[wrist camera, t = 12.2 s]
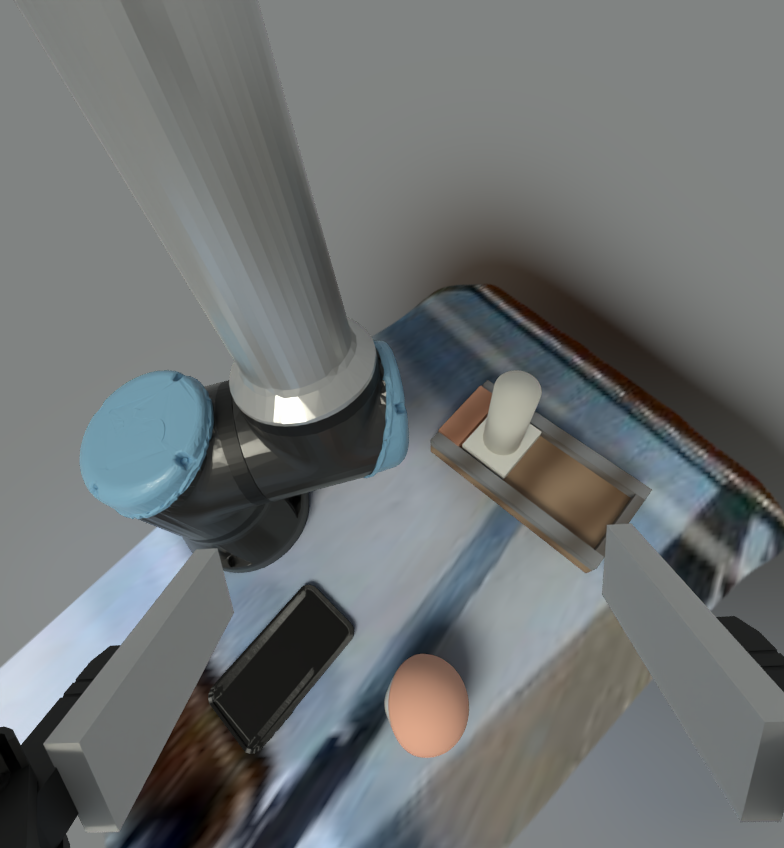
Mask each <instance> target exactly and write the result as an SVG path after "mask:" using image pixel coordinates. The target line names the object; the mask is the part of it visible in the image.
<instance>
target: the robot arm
mask: <svg viewBox="0 0 784 848" xmlns="http://www.w3.org/2000/svg"><path fill="white" fill-rule="evenodd" d="M14 2H15V3H16V5H17V7H18V8H19V10H20V12H21V13H22V15H23V16H24V18H25V19H26V21H27V23H28V25H29V26H30V28H31V29H32V31H33V33H34V34H35V36H36V38H37V39H38V41H39V43H40V44H41V46H42V47H43V49H44V51H45V52H46V54H47V56H48V57H49V59H50V60H51V62H52V64H53V65H54V67H55V69H56V70H57V72H58V74H59V75H60V77H61V79H62V80H63V82H64V83H65V85H66V87H67V88H68V90H69V91H70V93H71V95H72V97H73V98H74V100H75V101H76V103H77V104H78V106H79V108H80V109H81V111H82V113H83V114H84V116H85V118H86V119H87V121H88V123H89V124H90V126H91V128H92V129H93V131H94V132H95V134H96V135H97V137H98V139H99V141H100V142H101V144H102V145H103V147H104V149H105V150H106V152H107V154H108V155H109V157H110V158H111V160H112V162H113V164H114V165H115V167H116V168H117V170H118V172H119V173H120V175H121V177H122V178H123V180H124V181H125V183H126V185H127V186H128V188H129V190H130V191H131V193H132V195H133V196H134V198H135V199H136V201H137V203H138V204H139V206H140V207H141V209H142V211H143V213H144V214H145V216H146V217H147V219H148V221H149V222H150V224H151V226H152V227H153V229H154V231H155V232H156V234H157V235H158V237H159V239H160V240H161V242H162V244H163V245H164V247H165V248H166V250H167V252H168V253H169V255H170V257H171V258H172V260H173V261H174V263H175V265H176V266H177V268H178V270H179V271H180V273H181V275H182V276H183V278H184V280H185V281H186V283H187V284H188V286H189V288H190V289H191V291H192V293H193V294H194V296H195V297H196V299H197V301H198V302H199V304H200V306H201V307H202V309H203V310H204V312H205V314H206V315H207V317H208V319H209V320H210V322H211V324H212V325H213V327H214V328H215V330H216V332H217V333H218V335H219V337H220V338H221V340H222V341H223V343H224V345H225V346H226V348H227V350H228V351H229V353H230V355H231V356H232V358H233V360H234V363H233V366H232V368H231V372H230V378H229V380H228V381H224V382H220V383H216V384H213V385H209V386H205V387H204V386H203V385H202V384H201V383H200V382H199V381H198V380H197V379H195V378H193V377H190V376H185V375H183V374H181V373H179V372H176V371H169V370H164V371H154V372H150V373H147V374H144V375H141V376H139V377H137V378H134V379H132V380H131V381H129V382H127V383H125V384H124V385H123V386H121V387H120V388H118V389H117V390H116V391H115V392H113V393H112V394H111V395H110V396H109V397H108V398H107V399H106V400H105V401H104V403H103V406H102V407H101V409H100V410H99V411H98V412H97V413H96V414H95V415H94V416H93V418H92V419H91V421H90V423H89V425H88V427H87V429H86V431H85V434H84V437H83V441H82V444H81V449H80V470H81V474H82V477H83V480H84V482H85V484H86V486H87V488H88V490H89V491H90V492H91V493H92V494H93V495H94V497H96V498H97V499H98V500H99V501H101V502H103V503H104V504H106V505H108V506H110V507H112V508H114V509H115V510H116V511H117V512H118V513H119V514H120V515H123V516H125V517H128V518H132V519H134V518H136V519H138V520H141V521H144V522H146V523H149V524H151V525H154V526H156V527H159V528H161V529H164V530H166V531H169V532H171V533H174V534H177V535H179V536H182V537H183V539H184V541H185V542H186V544H187V546H188V547H189V549H190V550H191V552H192V553H193V554H192V555H191V557H190V558H189V559H188V560H187V562H186V563H185V564H184V566H183V567H182V568H181V569H180V571H179V572H178V573H177V574H176V576H175V577H174V578H173V579H172V581H171V582H170V583H169V585H168V586H167V587H166V588H165V590H164V591H163V592H162V593H161V595H160V596H159V597H158V599H157V600H156V601H155V602H154V604H153V605H152V606H151V607H150V609H149V610H148V611H147V613H146V614H145V615H144V616H143V618H142V619H141V620H140V621H139V623H138V624H137V625H136V627H135V628H134V629H133V630H132V632H131V633H130V634H129V635H128V637H127V638H126V639H125V641H124V642H123V643H122V644H121V645H118V646H110V647H108V648H107V649H106V650H104V651H103V652H102V653H101V654H99V655H98V656H97V657H96V658H94V659H93V660H92V661H91V662H90V663H89V664H88V665H87V666H86V668H85V669H84V670H83V671H82V672H81V674H80V675H79V676H78V677H77V678H76V682H75V683H72V684H71V686H70V687H69V688H68V689H67V690H66V692H65V693H64V696H63V698H60V699H59V700H58V701H57V702H56V704H55V705H54V706H53V707H52V708H51V710H50V711H49V712H48V713H47V715H46V716H45V717H44V718H43V719H42V721H41V722H40V723H39V724H38V725H37V727H36V728H35V729H34V730H33V731H32V733H31V734H30V735H29V736H28V737H27V739H26V740H25V741H24V742H23V743H22V745H20V743H19V741H18V739H17V737H16V735H15V733H14V731H13V730H12V729H10V728H7V727H0V848H70V843H69V841H68V838H67V835H66V833H67V831H68V830H69V828H70V826H71V825H72V823H73V822H74V820H75V818H76V817H77V815H78V817H79V819H80V821H81V823H82V825H83V827H84V829H85V831H86V832H119V831H120V829H121V827H122V825H123V823H124V821H125V819H126V817H127V815H128V814H129V812H130V810H131V808H132V806H133V804H134V802H135V800H136V798H137V796H138V795H139V793H140V791H141V789H142V787H143V785H144V783H145V781H146V779H147V777H148V775H149V774H150V772H151V770H152V768H153V766H154V764H155V762H156V760H157V758H158V756H159V755H160V753H161V751H162V749H163V747H164V745H165V743H166V741H167V739H168V737H169V735H170V734H171V732H172V730H173V728H174V726H175V724H176V722H177V720H178V718H179V716H180V715H181V713H182V711H183V709H184V707H185V705H186V703H187V701H188V699H189V697H190V695H191V694H192V692H193V690H194V688H195V686H196V684H197V682H198V680H199V678H200V676H201V675H202V673H203V671H204V669H205V667H206V665H207V663H208V661H209V659H210V657H211V655H212V654H213V652H214V650H215V648H216V646H217V644H218V642H219V640H220V638H221V636H222V635H223V633H224V631H225V629H226V627H227V625H228V623H229V621H230V619H231V617H232V615H233V614H234V611H233V607H232V603H231V599H230V595H229V591H228V587H227V583H226V580H225V576H224V572H223V571H227V572H234V573H244V572H251V571H255V570H258V569H261V568H264V567H266V566H268V565H270V564H272V563H273V562H275V561H276V560H278V559H279V558H281V557H282V556H283V555H284V554H285V553H286V552H287V551H288V550H289V549H290V548H291V547H292V546H293V545H294V543H295V542H296V540H297V539H298V537H299V536H300V534H301V532H302V530H303V528H304V525H305V523H306V519H307V515H308V509H309V495H308V492H311V491H314V490H318V489H321V488H325V487H329V486H333V485H336V484H340V483H344V482H348V481H352V480H356V479H359V478H369V477H372V476H374V475H375V474H376V473H378V472H381V471H384V470H387V469H390V468H393V467H396V466H397V465H399V464H400V463H401V462H402V461H403V460H404V458H405V456H406V454H407V451H408V444H409V428H408V417H407V411H406V408H405V406H404V404H405V399H404V390H403V385H402V381H401V377H400V372H399V369H398V365H397V362H396V359H395V357H394V354H393V352H392V350H391V348H390V346H389V345H388V344H387V343H386V342H384V341H374V340H373V339H372V337H371V336H370V334H369V333H368V332H367V330H366V329H365V328H364V327H363V326H362V325H360V324H359V323H358V322H356V321H354V320H352V319H350V318H348V317H347V316H346V313H345V310H344V306H343V302H342V299H341V295H340V292H339V288H338V284H337V281H336V277H335V274H334V270H333V267H332V263H331V260H330V256H329V253H328V249H327V246H326V242H325V238H324V235H323V231H322V228H321V224H320V220H319V217H318V213H317V210H316V206H315V203H314V199H313V196H312V192H311V189H310V185H309V181H308V178H307V174H306V171H305V167H304V163H303V160H302V156H301V153H300V149H299V146H298V142H297V138H296V135H295V131H294V128H293V124H292V121H291V118H290V113H289V110H288V106H287V103H286V99H285V96H284V92H283V88H282V85H281V81H280V78H279V74H278V71H277V67H276V63H275V60H274V56H273V53H272V49H271V46H270V42H269V38H268V35H267V31H266V28H265V24H264V21H263V17H262V13H261V10H260V6H259V3H258V0H14ZM602 595H603V597H604V598H605V600H606V602H607V603H608V605H609V607H610V608H611V610H612V612H613V613H614V615H615V616H616V618H617V620H618V621H619V623H620V625H621V626H622V628H623V630H624V631H625V633H626V635H627V636H628V638H629V639H630V641H631V643H632V644H633V646H634V648H635V649H636V651H637V653H638V654H639V656H640V658H641V659H642V661H643V662H644V664H645V666H646V667H647V669H648V671H649V672H650V674H651V676H652V677H653V679H654V680H655V682H656V684H657V685H658V687H659V689H660V690H661V692H662V694H663V695H664V697H665V699H666V700H667V702H668V703H669V705H670V707H671V708H672V710H673V712H674V713H675V715H676V717H677V718H678V720H679V722H680V723H681V725H682V726H683V728H684V730H685V731H686V732H687V735H688V736H689V738H690V740H691V741H692V743H693V744H694V746H695V748H696V749H697V751H698V753H699V754H700V756H701V758H702V759H703V761H704V763H705V764H706V766H707V767H708V769H709V771H710V772H711V774H712V776H713V777H714V779H715V781H716V782H717V784H718V786H719V787H720V789H721V791H722V792H723V794H724V795H725V797H726V799H727V800H728V802H729V804H730V805H731V807H732V809H733V810H734V812H735V813H736V815H737V817H738V818H739V820H740V822H779V821H781V819H782V816H783V812H784V656H783V655H782V654H781V653H778V652H777V650H776V648H775V647H774V646H773V645H772V644H771V643H770V642H769V641H768V640H767V639H766V638H765V637H764V636H763V635H762V634H761V633H760V632H759V631H757V630H756V629H754V628H752V627H751V626H749V625H748V624H746V623H745V622H743V621H742V620H740V619H738V618H737V617H735V616H730V617H715V616H714V615H713V613H712V612H711V611H710V610H709V609H708V608H707V607H706V606H705V605H704V604H703V602H702V601H701V600H700V599H699V598H698V597H697V596H696V595H695V594H694V592H693V591H692V590H691V589H690V588H689V587H688V586H687V585H686V584H685V583H684V581H683V580H682V579H681V578H680V577H679V576H678V575H677V574H676V573H675V571H674V570H673V569H672V568H671V567H670V566H669V565H668V564H667V563H666V561H665V560H664V559H663V558H662V557H661V556H660V555H659V554H658V553H657V552H656V550H655V549H654V548H653V547H652V546H651V545H650V544H649V543H648V542H647V540H646V539H645V538H644V537H643V536H642V535H641V534H640V533H639V532H638V530H637V529H636V528H635V527H634V526H633V525H632V524H614V525H607V531H606V546H605V560H604V574H603V588H602Z"/></svg>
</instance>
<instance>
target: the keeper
mask: <svg viewBox="0 0 784 848" xmlns="http://www.w3.org/2000/svg"><path fill="white" fill-rule="evenodd" d="M541 393H542V390H541V386H540V384H539V382H538V380H537V379H536V378H535V377H534V376H532V375H531V374H529V373H527V372H524V371H517V370H515V371H509V372H506V373H504V374H502V375H501V376H499V377H498V379H497V380H496V382H495V384H494V389H493V393H492V398H491V402H490V407H489V411H488V416H487V418H486V419H485V420H484V421H483V422H482V423H481V424H480V425H479V427H478V428H477V429H476V430H475V431H474V432H473V433H472V434H471V435H470V437H469V438H468V439H467V440H466V441H465V442H464V443H463V444H462V450H464V451H465V452H466V453H468V454H469V455H470V456H472V457H473V458H474V459H476V460H477V461H478V462H480V463H481V464H482V465H484V466H485V467H486V468H488V469H489V470H490V471H491V472H493V473H494V474H495V475H497V476H498V477H499V478H501V479H502V480H504V478H505V477H506V476H507V475H508V474H509V472H510V471H511V470H512V469H513V468H514V467H515V465H516V464H517V463H518V462H519V461H520V459H521V458H522V457H523V456H524V455H525V453H526V452H527V451H528V450H529V449H530V448H531V446H532V445H533V444H534V443H535V442H536V440H537V439H538V438H539V437H540V435H541V433H542V432H541V431H540V430H538V429H537V428H535V427H534V426H533V425H531V424H530V421H531V419H532V417H533V414H534V412H535V410H536V407H537V405H538V403H539V400H540V398H541Z"/></svg>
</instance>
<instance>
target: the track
mask: <svg viewBox="0 0 784 848" xmlns="http://www.w3.org/2000/svg"><path fill="white" fill-rule="evenodd" d="M493 389H494V384H493V383H492V382H490V381H489V380H487V381H486V382H485V383H484V384H483V385H482V386H479V387H478V388H477V390H476V391H475V392H474V393H473V394H472V395H471V396H470V397H469V398H468V399H467V400H466V401H465V402H464V403H463V404H462V405H461V407H460V408H459V409H458V410H457V411H456V412H455V413H454V414H453V415H452V416H451V417H450V418H449V419H448V420H447V421H446V423H445V424H444V425H443V426H442V427H441V428H440V429H439V432H438V433H437V434H436V435H435V436H434V437H433V438H432V439H431V452H432V453H434V454H435V455H436V456H437V457H439V458H440V459H441V460H443V461H444V462H445V463H446V464H448V465H449V466H450V467H451V468H453V469H454V470H455V471H457V472H458V473H459V474H460V475H462V476H463V477H464V478H465V479H467V480H468V481H469V482H470V483H472V484H473V485H474V486H476V487H477V488H478V489H479V490H481V491H482V492H483V493H484V494H486V495H487V496H488V497H490V498H491V499H492V500H493V501H495V502H496V503H497V504H498V505H500V506H501V507H502V508H503V509H505V510H506V511H507V512H509V513H510V514H511V515H512V516H514V517H515V518H516V519H517V520H519V521H520V522H521V523H523V524H524V525H525V526H526V527H528V528H529V529H530V530H531V531H533V532H534V533H535V534H537V535H538V536H539V537H540V538H542V539H543V540H544V541H545V542H547V543H548V544H549V545H550V546H552V547H553V548H554V549H556V550H557V551H558V552H559V553H561V554H562V555H563V556H564V557H566V558H567V559H568V560H570V561H571V562H572V563H573V564H575V565H576V566H577V567H578V568H580V569H581V570H582V571H583V572H585V573H588V572H590V571H592V570H595V569H597V567H598V566H599V564H600V563H601V561H602V560H603V559H604V557H605V546H606V531H607V525H614V524H628V523H629V522H630V521H631V519H632V518H633V516H634V515H635V513H636V512H637V511H638V509H639V508H640V506H641V505H642V504H643V502H644V501H645V499H646V498H647V497H648V495H649V494H650V492H651V491H652V489H650V488H649V487H647V486H646V485H644V484H643V483H641V482H640V481H638V480H637V479H635V478H634V477H632V476H631V475H629V474H628V473H626V472H625V471H623V470H622V469H620V468H619V467H617V466H616V465H614V464H613V463H611V462H610V461H608V460H607V459H605V458H604V457H602V456H601V455H599V454H598V453H596V452H595V451H593V450H592V449H590V448H589V447H587V446H586V445H584V444H583V443H582V442H580V441H579V440H577V439H576V438H574V437H573V436H571V435H570V434H568V433H567V432H565V431H564V430H562V429H561V428H559V427H558V426H556V425H555V424H553V423H552V422H550V421H549V420H547V419H546V418H544V417H543V416H541V415H540V414H538V413H537V412H534V414H533V417H532V419H531V421H530V424H531V425H533V426H534V427H535V428H537V429H538V430H540V431H541V432H542V433H541V435H540V437H539V438H538V439H537V440H536V442H535V443H534V444H533V445H532V446H531V448H530V449H529V450H528V451H527V452H526V453H525V455H524V456H523V457H522V458H521V459H520V461H519V462H518V463H517V464H516V465H515V467H514V468H513V469H512V470H511V471H510V472H509V474H508V475H507V476H506V477H505V478H504V480H502V479H501V478H499V477H498V476H497V475H495V474H494V473H493V472H491V471H490V470H489V469H488V468H486V467H485V466H484V465H482V464H481V463H480V462H478V461H477V460H476V459H474V458H473V457H472V456H470V455H469V454H468V453H466V452H465V451H464V450H462V444H463V443H464V442H465V441H466V440H467V439H468V438H469V437H470V435H471V434H472V433H473V432H474V431H475V430H476V429H477V428H478V427H479V425H480V424H481V423H482V422H483V421H484V420H485V419H486V418H487V416H488V411H489V407H490V402H491V398H492V393H493Z"/></svg>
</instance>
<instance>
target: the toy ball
mask: <svg viewBox="0 0 784 848" xmlns="http://www.w3.org/2000/svg"><path fill="white" fill-rule="evenodd" d="M384 706H385V711H386V715H387V718H388V720H389V722H390V725H391V727H392V730H393V732H394V734H395V736H396V738H397V740H398V742H399V743H400V744H401V746H402V747H403V748H404V749H405V750H406V751H407V752H409V753H410V754H412V755H414V756H417V757H423V758H428V757H435V756H439V755H442V754H444V753H446V752H447V751H449V750H450V749H451V748H452V747H454V746H455V745H456V743H457V742H458V741H459V739H460V738H461V736H462V735H463V733H464V730H465V728H466V725H467V721H468V715H469V701H468V695H467V691H466V688H465V685H464V683H463V681H462V679H461V677H460V675H459V674H458V673H457V671H456V670H455V669H454V668H453V667H452V666H451V665H450V664H449V663H448V662H446V661H445V660H443V659H441V658H439V657H437V656H434V655H429V654H417V655H414V656H412V657H410V658H408V659H407V660H406V661H404V662H403V663H402V665H401V666H400V667H399V668H398V670H397V672H396V673H395V675H394V677H393V679H392V681H391V683H390V685H389V687H388V690H387V693H386V696H385V702H384Z"/></svg>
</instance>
